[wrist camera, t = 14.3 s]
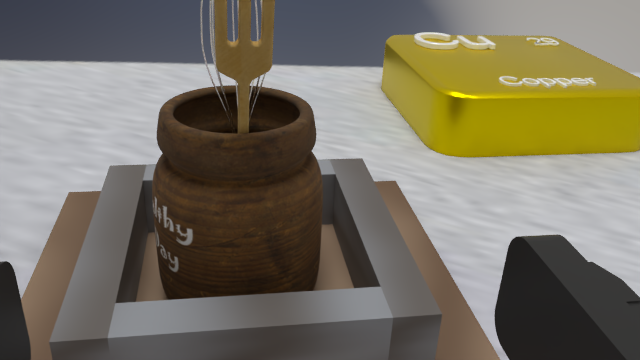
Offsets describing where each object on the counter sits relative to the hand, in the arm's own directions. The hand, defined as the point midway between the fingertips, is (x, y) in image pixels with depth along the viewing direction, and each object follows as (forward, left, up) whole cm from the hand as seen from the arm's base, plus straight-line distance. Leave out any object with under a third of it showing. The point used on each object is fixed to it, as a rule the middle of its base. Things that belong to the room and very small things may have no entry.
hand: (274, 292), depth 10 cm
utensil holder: (0, +11, -8) cm, 13 cm away
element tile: (+19, +31, -9) cm, 38 cm away
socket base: (0, +11, -9) cm, 14 cm away
